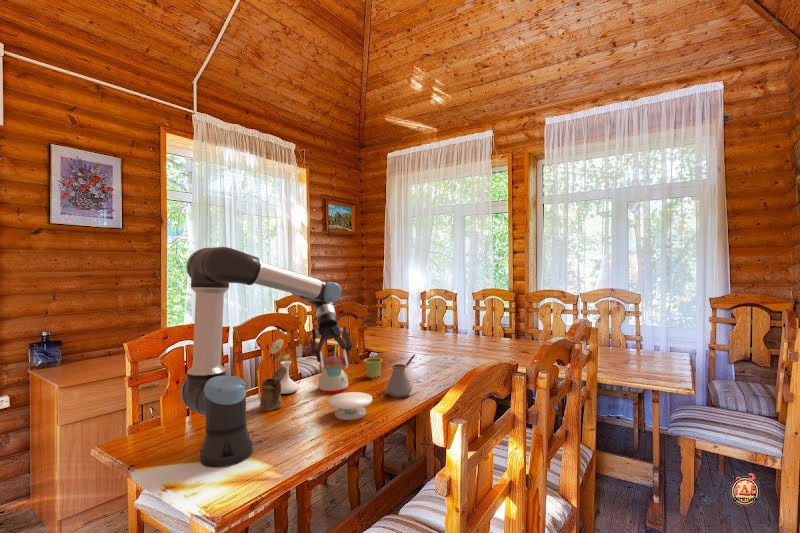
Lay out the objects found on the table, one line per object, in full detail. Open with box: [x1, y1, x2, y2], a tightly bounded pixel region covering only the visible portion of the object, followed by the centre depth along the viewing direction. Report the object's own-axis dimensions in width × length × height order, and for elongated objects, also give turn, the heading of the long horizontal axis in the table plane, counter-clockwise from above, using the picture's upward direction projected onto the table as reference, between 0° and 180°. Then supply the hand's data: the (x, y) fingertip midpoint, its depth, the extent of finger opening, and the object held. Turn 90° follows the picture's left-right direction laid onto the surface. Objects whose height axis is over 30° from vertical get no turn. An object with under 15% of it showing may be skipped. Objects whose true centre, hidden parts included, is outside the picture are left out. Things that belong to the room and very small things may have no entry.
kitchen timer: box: [317, 368, 349, 395], centre depth 193 cm, size 14×14×15 cm
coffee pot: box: [386, 354, 416, 398], centre depth 187 cm, size 21×12×15 cm, turn 149°
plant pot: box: [363, 357, 383, 378], centre depth 213 cm, size 9×9×9 cm
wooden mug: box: [258, 366, 287, 412], centre depth 168 cm, size 9×14×18 cm, turn 50°
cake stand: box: [327, 391, 373, 421], centre depth 160 cm, size 17×17×6 cm
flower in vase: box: [269, 338, 300, 395], centre depth 189 cm, size 13×11×25 cm
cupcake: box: [323, 345, 345, 377], centre depth 155 cm, size 9×8×12 cm
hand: (334, 367), depth 152 cm, fingers closed on cupcake, 8 cm apart
